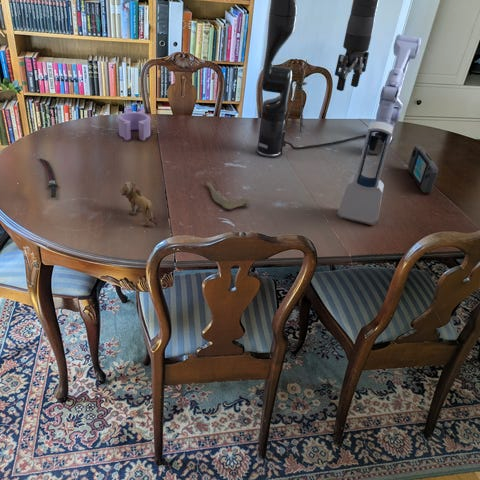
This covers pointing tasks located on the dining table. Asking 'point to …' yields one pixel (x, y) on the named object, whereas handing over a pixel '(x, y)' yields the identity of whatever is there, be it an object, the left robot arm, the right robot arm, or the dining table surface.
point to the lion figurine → (137, 201)
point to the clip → (134, 123)
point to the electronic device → (366, 184)
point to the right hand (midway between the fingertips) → (375, 148)
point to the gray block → (378, 148)
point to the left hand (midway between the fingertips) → (347, 88)
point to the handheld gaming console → (423, 169)
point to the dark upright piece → (295, 69)
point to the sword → (52, 181)
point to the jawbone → (223, 201)
